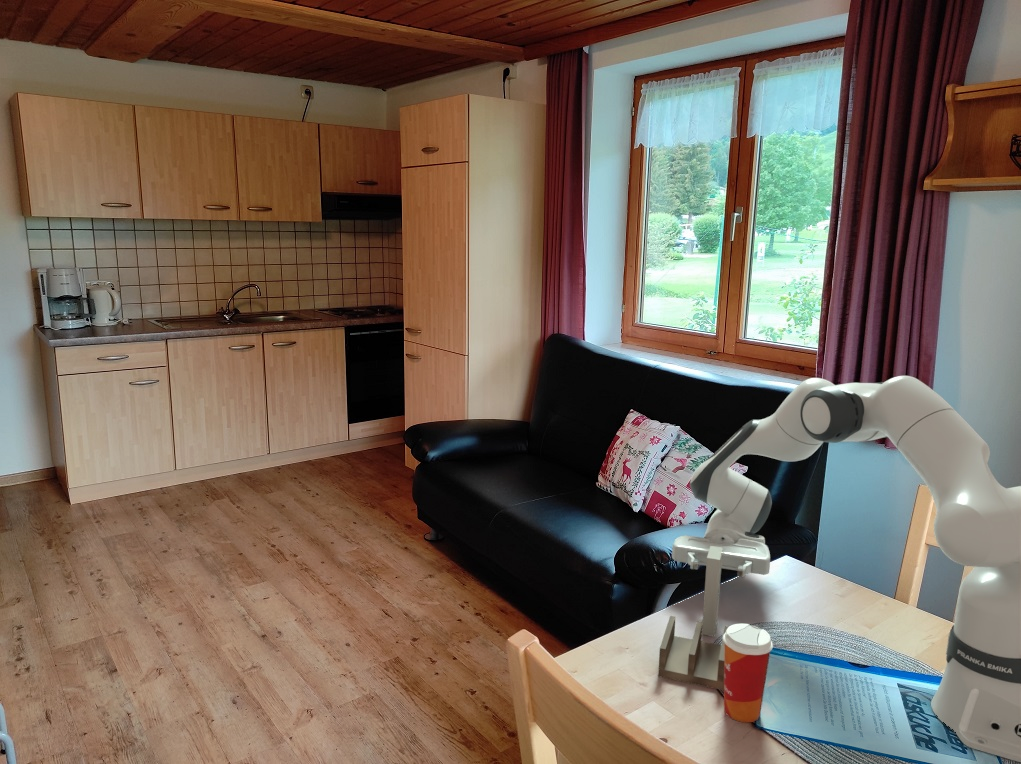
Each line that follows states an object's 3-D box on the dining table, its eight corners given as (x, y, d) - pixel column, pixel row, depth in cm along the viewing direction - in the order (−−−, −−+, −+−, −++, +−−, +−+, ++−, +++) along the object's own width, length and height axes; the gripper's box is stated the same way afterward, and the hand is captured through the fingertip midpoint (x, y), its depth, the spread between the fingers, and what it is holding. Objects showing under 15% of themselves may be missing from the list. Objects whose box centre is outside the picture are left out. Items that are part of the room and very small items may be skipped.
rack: (756, 659, 138) (758, 632, 137) (753, 696, 127) (755, 667, 126) (668, 642, 144) (670, 615, 142) (658, 676, 132) (659, 648, 131)
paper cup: (729, 691, 128) (735, 616, 125) (773, 710, 124) (780, 632, 121) (709, 713, 122) (715, 635, 120) (755, 734, 118) (762, 653, 115)
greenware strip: (717, 621, 151) (722, 547, 148) (714, 636, 146) (719, 559, 142) (705, 619, 152) (710, 545, 149) (701, 634, 146) (706, 557, 143)
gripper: (676, 524, 170) (667, 547, 157) (772, 537, 163) (770, 563, 151) (675, 550, 171) (665, 575, 159) (769, 564, 164) (767, 592, 152)
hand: (717, 569), depth 155 cm, fingers open, 8 cm apart
